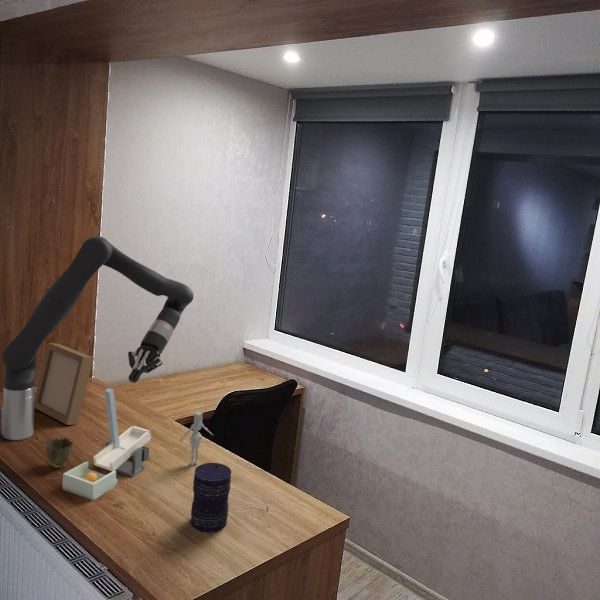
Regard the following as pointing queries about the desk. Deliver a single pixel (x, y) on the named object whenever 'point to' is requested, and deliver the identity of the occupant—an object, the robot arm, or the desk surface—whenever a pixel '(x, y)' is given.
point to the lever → (119, 439)
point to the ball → (91, 477)
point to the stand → (134, 467)
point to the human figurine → (195, 436)
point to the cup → (59, 452)
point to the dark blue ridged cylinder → (210, 497)
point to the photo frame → (63, 383)
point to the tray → (88, 482)
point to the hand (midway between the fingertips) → (131, 381)
